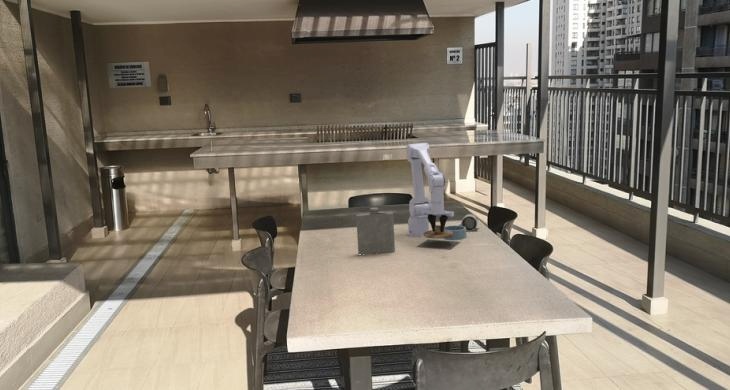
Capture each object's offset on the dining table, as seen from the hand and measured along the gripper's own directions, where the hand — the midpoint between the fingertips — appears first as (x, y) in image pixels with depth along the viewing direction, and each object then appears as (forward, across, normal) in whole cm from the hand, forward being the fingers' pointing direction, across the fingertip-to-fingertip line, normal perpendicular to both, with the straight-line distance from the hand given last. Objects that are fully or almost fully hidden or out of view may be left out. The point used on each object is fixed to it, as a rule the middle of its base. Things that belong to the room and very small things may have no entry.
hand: (438, 231), depth 266 cm
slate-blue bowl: (+6, +2, +15) cm, 16 cm away
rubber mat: (+6, 0, 0) cm, 6 cm away
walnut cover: (+2, 0, 0) cm, 2 cm away
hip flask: (+6, -21, -20) cm, 30 cm away
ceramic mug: (+7, +3, +32) cm, 32 cm away
